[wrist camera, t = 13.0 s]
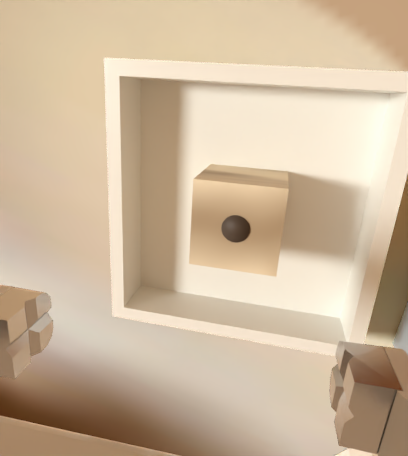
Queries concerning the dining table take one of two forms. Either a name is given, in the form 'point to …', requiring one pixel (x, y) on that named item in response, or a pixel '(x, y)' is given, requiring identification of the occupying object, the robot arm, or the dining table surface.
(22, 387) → the dining table surface
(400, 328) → the slate block
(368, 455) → the white cup
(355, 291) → the cream tray
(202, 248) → the maple block
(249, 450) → the dining table surface
